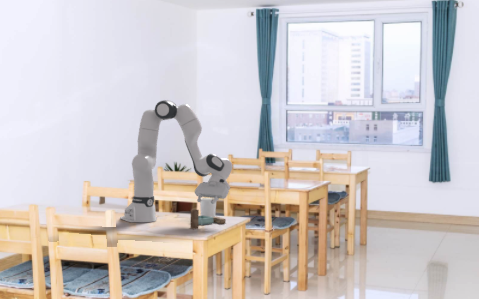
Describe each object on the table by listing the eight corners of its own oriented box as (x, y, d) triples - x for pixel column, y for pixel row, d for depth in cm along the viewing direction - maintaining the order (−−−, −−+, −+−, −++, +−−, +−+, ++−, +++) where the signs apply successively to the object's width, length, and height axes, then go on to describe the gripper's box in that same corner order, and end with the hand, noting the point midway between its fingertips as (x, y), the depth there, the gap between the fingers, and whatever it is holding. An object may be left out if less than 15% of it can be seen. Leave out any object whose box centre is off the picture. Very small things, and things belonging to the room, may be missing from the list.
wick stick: (190, 228, 324) (190, 209, 323) (193, 227, 326) (194, 209, 326) (194, 229, 322) (195, 210, 322) (198, 228, 325) (198, 209, 324)
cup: (190, 223, 340) (191, 217, 340) (202, 221, 347) (202, 215, 347) (201, 225, 334) (201, 219, 334) (213, 223, 341) (213, 217, 340)
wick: (211, 222, 347) (211, 216, 347) (215, 221, 349) (216, 216, 349) (221, 224, 339) (221, 219, 339) (225, 224, 341) (225, 218, 341)
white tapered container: (214, 220, 350) (214, 200, 350) (197, 219, 352) (198, 199, 352) (217, 218, 360) (218, 198, 359) (202, 217, 362) (202, 197, 361)
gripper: (199, 178, 343) (188, 197, 335) (228, 180, 332) (217, 200, 324) (203, 185, 347) (192, 204, 339) (232, 188, 336) (222, 207, 328)
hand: (205, 202), depth 332 cm, fingers open, 8 cm apart
